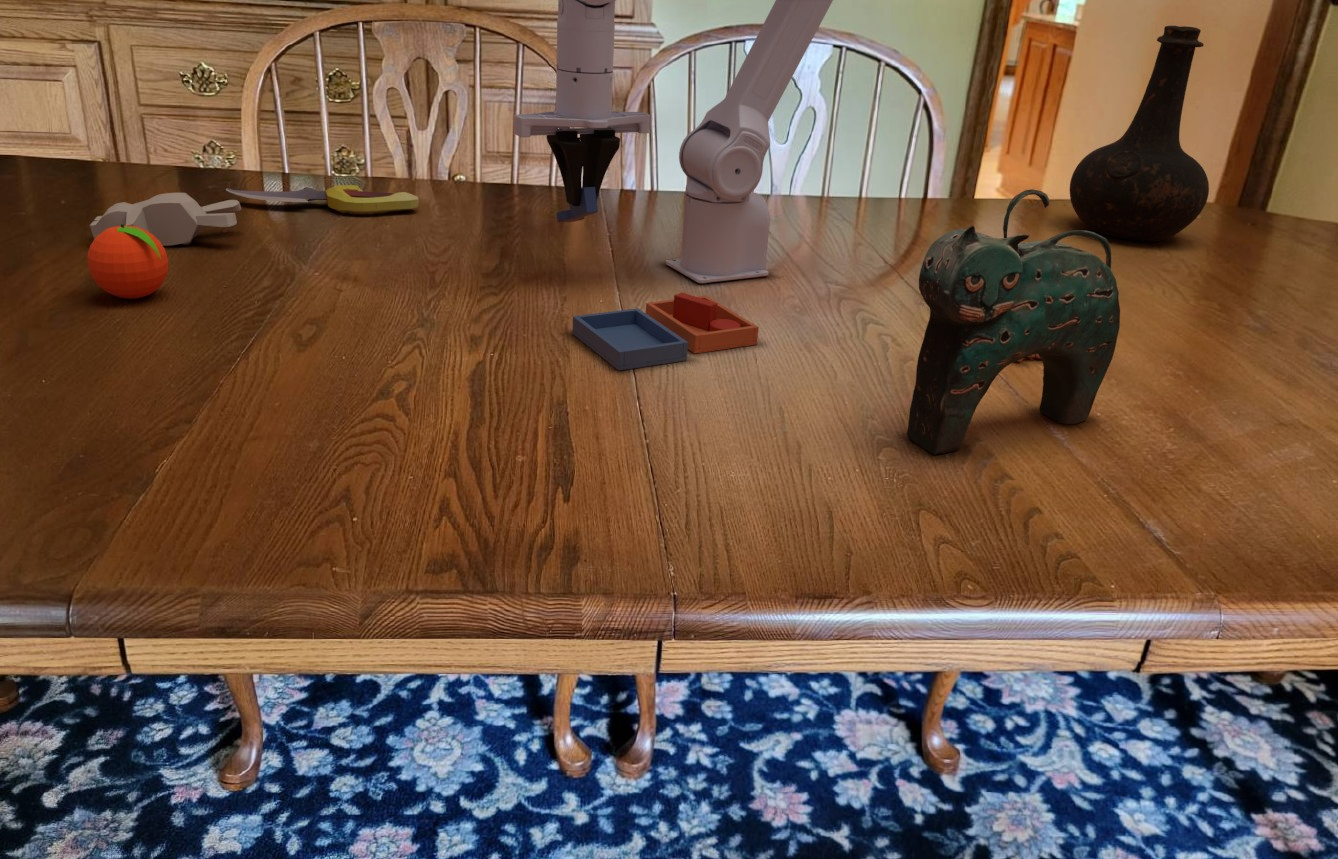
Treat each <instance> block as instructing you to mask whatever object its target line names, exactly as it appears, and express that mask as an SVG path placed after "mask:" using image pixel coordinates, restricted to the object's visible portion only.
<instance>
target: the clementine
mask: <svg viewBox="0 0 1338 859" xmlns="http://www.w3.org/2000/svg"><path fill="white" fill-rule="evenodd" d="M87 268H88V270H89V273H90V277H91V278H92V279H93V281H94V282H95V284H96V285H98V286H99V287H100V288H101V289H102V290H103V291H105V292H106V293H108V294H110V295H112V296H115V297H117V298H121V299H128V300H133V299H134V300H135V299H136V300H137V299H140V298H143V297H147V296H150V295H151V294H153V293H154V292H156V291H157V290H158V289H159V288H160V287H161V286H162V284H163V283H164V282H165V280H166V278H167V275H168V272H169V258H168V254H167V251H166V249H165V246H162V244H161V242H160V241H159V240H158V239H157V238H156V237H155V236H154V235H152V234H151V233H149V232H147V231H146V230H144V229H142V228H139V227H136V226H124V225H122V224H121V226H116V227H111V228H108V229H106V230H105V231H103V232H102V233H101V234H99V235H98V236H97V237H96V238H95V239H94V238H93V241H92V242H91V244H90V245H89V248H88V250H87Z"/></svg>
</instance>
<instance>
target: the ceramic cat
mask: <svg viewBox="0 0 1338 859" xmlns="http://www.w3.org/2000/svg"><path fill="white" fill-rule="evenodd" d="M1030 195H1031V196H1037V197H1038V198H1039V199H1040V200H1041V202H1042V204H1043V207H1044V209H1046V208H1048V207H1049V206H1050V198H1049V196H1048V193H1045V192H1043V191H1042V190H1037V189H1034V188H1033V189H1032V188H1031V189H1025V190H1023V191H1021V192H1020V193H1018V194H1016V195H1015V196H1014V197H1013V198H1012V199H1011V200H1010V202H1009V204H1008V206H1007V208H1006V213H1005V216H1004V218H1003V225H1002V232H1003V237H1000V238H999V237H992V236H990V235H987V234H985V233H982V232H979V231H976V228H975V226H974V224H971V225H970V226H969V227H967V228H966V229H964V228H955V229H953V230H950V231H947V232H946V233H944V234H942V235H941V236H940V237H939V238H937V239H936V240H935V241H933V243H932V244H931V245H930V247H929V248H928V250H927V251H926V254H925V255H924V257H923V261H922V265H921V267H920V271H919V276H918V290H919V293H920V295H921V297H922V299H923V300H924V303H925V304H926V305H927V306H928V308H929V318H928V322H927V325H926V328H925V330H924V335H923V338H922V339H923V340H922V343H921V347H920V349H919V353H918V357H917V363H916V368H915V370H916V371H915V384H914V389H913V394H912V398H911V403H910V406H909V415H908V423H907V430H906V431H907V432H906V437H907V438H908V439H909V440H911V441H912V442H913V443H915V444H916V445H917V446H919V447H920V448H922V449H924V450H925V451H927V452H928V453H930V454H932V455H933V456H935V455H940V454H941V455H942V454H947V453H950V452H951V453H952V452H957V451H958V450H960V449H961V448H962V445H963V442H964V439H965V437H966V434H967V432H968V429H969V427H970V424H971V421H972V419H973V416H974V414H975V412H976V409H977V408H978V406H979V404H980V402H981V400H982V399H983V398H984V396H985V395H986V393H987V392H988V390H989V389H990V387H991V385H992V383H993V382H994V380H995V379H996V378H997V376H998V375H999V374H1000V373H1001V372H1002V371H1003V370H1004V369H1005V368H1006V367H1008V366H1009V365H1011V364H1014V363H1016V362H1019V361H1018V360H1020V359H1022V358H1024V359H1025V358H1028V357H1027V356H1030V355H1034V354H1038V355H1039V356H1040V357H1041V358H1040V360H1041V362H1042V365H1043V370H1042V371H1043V373H1042V374H1043V375H1042V376H1043V377H1042V393H1041V398H1040V404H1039V408H1038V409H1039V410H1038V411H1039V413H1040V414H1042V415H1043V416H1046V417H1049V418H1050V419H1051V420H1052V421H1054V422H1056V423H1059V424H1063V425H1075V424H1079V423H1083V422H1084V421H1086V420H1087V419H1088V418H1089V415H1090V413H1091V411H1092V408H1093V405H1094V402H1095V400H1096V396H1097V394H1098V392H1099V390H1100V387H1101V385H1102V383H1103V382H1104V378H1105V376H1106V374H1107V372H1108V369H1109V367H1110V365H1111V362H1112V361H1113V357H1114V354H1115V350H1116V347H1117V341H1118V336H1119V333H1120V326H1121V325H1120V324H1121V306H1120V301H1119V299H1120V298H1119V295H1120V292H1119V288H1118V284H1117V279H1116V277H1115V275H1114V273H1113V271H1112V250H1111V245H1110V243H1109V241H1108V239H1107V238H1106V237H1104V236H1103V235H1100V234H1098V233H1096V232H1093V231H1089V230H1085V229H1084V230H1083V229H1072V230H1071V229H1070V230H1067V231H1064V232H1061V233H1058V234H1056V235H1054V236H1052V237H1050V238H1047V239H1045V240H1041V241H1040V240H1039V241H1038V240H1037V241H1036V240H1035V241H1030V242H1029V241H1028V242H1023V241H1026V240H1027V239H1029V237H1030V234H1016V235H1012V236H1009V237H1008V227H1009V221H1010V215H1011V214H1012V211H1013V210H1014V208H1015V207H1016V205H1017V204H1018V203H1019V202H1020V201H1021V200H1022V199H1024V198H1025V197H1027V196H1030ZM1071 236H1081V237H1084V238H1087V239H1088V238H1090V239H1091V240H1092V239H1093V240H1096V241H1097V242H1099V243H1100V244H1101V246H1102V248H1103V249H1104V253H1105V262H1104V261H1103V260H1102V259H1101V258H1100V257H1099V256H1097V255H1095V254H1093V253H1092V252H1089V251H1087V250H1083V249H1080V248H1076V247H1074V246H1072V245H1070V244H1067V243H1062V242H1059V241H1061V240H1063V239H1065V238H1067V237H1071ZM1022 242H1023V243H1022Z"/></svg>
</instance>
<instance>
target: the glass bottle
mask: <svg viewBox="0 0 1338 859" xmlns="http://www.w3.org/2000/svg"><path fill="white" fill-rule="evenodd" d="M1201 31H1202V30H1201V29H1200V28H1198V27H1194V26H1185V25H1184V26H1183V25H1182V26H1179V25H1166V26H1164V28H1163V34H1162V35H1160V36H1158V37H1157V38H1156V41H1157V42H1158V43H1160V46H1159V49H1158V53H1157V55H1156V59H1155V62H1154V66H1153V69H1152V72H1151V74H1150V78H1149V81H1148V83H1147V86H1146V88H1145V91H1144V94H1143V97H1142V99H1141V101H1140V103H1139V106H1138V108H1137V111H1136V113H1135V114H1134V117H1133V119H1132V121H1131V122H1130V124H1129V126H1128V128H1127V129H1126V130H1125V132H1124V133H1123V135H1122V136H1120V138H1119V139H1117V140H1116V141H1114V142H1111V143H1109V144H1106V145H1103V146H1100V147H1098V148H1096V149H1094V150H1093V151H1090V153H1089V152H1088V154H1087V155H1085V156H1084V157H1083V158H1082V159H1081V160H1080V162H1079V163H1078V164H1077V165H1076V167H1075V169H1074V171H1073V173H1072V175H1071V177H1070V181H1069V199H1070V203H1071V206H1072V208H1073V210H1074V213H1075V214H1076V215H1077V217H1078V219H1079V220H1081V222H1082V223H1084V225H1085V226H1087V227H1088V228H1089V229H1091V230H1094V231H1095V232H1098V233H1100V234H1103V235H1106V236H1109V237H1113V238H1117V239H1122V240H1128V241H1135V242H1145V243H1150V242H1151V243H1152V242H1154V243H1155V242H1160V241H1164V240H1167V239H1169V238H1171V237H1174V236H1176V235H1177V234H1179V233H1181V232H1182V231H1184V230H1185V229H1186V228H1187V227H1188V226H1190V225H1191V224H1192V223H1193V222H1194V221H1195V220H1196V219H1197V218H1198V217H1199V215H1200V214H1201V213H1202V211H1203V210H1204V208H1205V206H1206V205H1207V201H1208V198H1209V193H1210V183H1209V179H1208V175H1207V172H1206V171H1205V170H1204V168H1203V166H1202V165H1201V164H1200V163H1199V161H1197V160H1196V159H1195V158H1194V157H1192V156H1191V155H1189V154H1188V153H1187V152H1185V151H1184V150H1183V148H1182V146H1181V142H1180V132H1181V131H1180V130H1181V122H1182V121H1181V120H1182V115H1183V114H1182V113H1183V108H1184V104H1185V97H1186V93H1187V87H1188V83H1189V77H1190V73H1191V69H1192V64H1193V60H1194V56H1195V52H1196V48H1202V47H1204V42H1202V41H1199V37H1200V34H1201Z"/></svg>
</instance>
